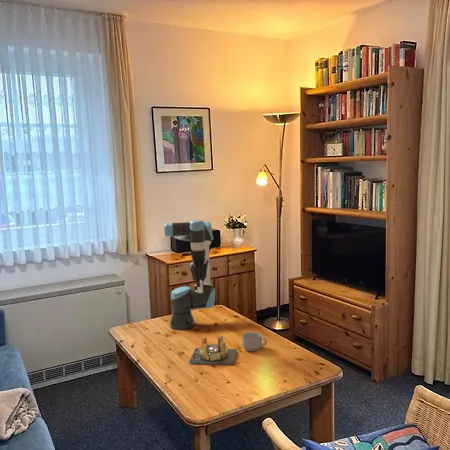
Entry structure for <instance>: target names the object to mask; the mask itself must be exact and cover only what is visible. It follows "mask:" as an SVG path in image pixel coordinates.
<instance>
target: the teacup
mask: <svg viewBox="0 0 450 450" xmlns="http://www.w3.org/2000/svg"><path fill="white" fill-rule="evenodd" d="M263 341H264V342H263ZM241 343H242V348H243V349H245V350H246V351H248V352H257V351H259V350H260V349H261V348H262V347H264V346H265V345H267V344H268V339H267V338H266V337H265V336H263V334H262V333H261V332H257V331H248V332H244V333H242V334H241Z"/></svg>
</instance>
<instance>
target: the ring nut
mask: <svg viewBox="0 0 450 450" xmlns="http://www.w3.org/2000/svg"><path fill="white" fill-rule="evenodd" d="M223 337H224V336H223V335H218V336H217V343H211V344H209V343H208V342H207V340H208V339H207V337H205V336H203V337H201V339H200V341H201V347H198V348H199V355H200V358H201V359H205V360H208V361H209V360H210V361H213V360H220V359H223V358H225V357H227V356H228V349H229V348H228V346H226V342H224V338H223ZM210 346H218V351H220V353H215V354H209V347H210Z"/></svg>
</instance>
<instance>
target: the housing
mask: <svg viewBox="0 0 450 450" xmlns="http://www.w3.org/2000/svg"><path fill="white" fill-rule="evenodd" d="M199 348H200V347H195V349H194V351H193V353H192V355H191V357H190V359H189V362H188V363H189V365H209V366H210V365H213V366H215V365H216V366H219V365H220V366H234V363H235V360H236V357H237V353H238V348H228V356H227V357H225V358H223V359H220V360H213V361H210V360H209V361H208V360H205V359H201V358H200V355H199ZM215 353H220V351H218V346H210V347H209V354H215Z"/></svg>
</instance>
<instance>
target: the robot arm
mask: <svg viewBox="0 0 450 450" xmlns="http://www.w3.org/2000/svg"><path fill="white" fill-rule="evenodd" d="M163 228H164V229H163V231H164V232H163V233H164V236H165V237H168V238H171V237H174V238H175V240H176V239H177V240H179V241H185V242H190V256H191V258H192V259H191V263H188V267H189V268H190V272H191V278H192V280H193V281H195V284H194V286H193V288H192V289H191V287H190V286H180V287H177V288H174V289H173V290H172V291H171V293H170V294H171V295H170V301H171V318H170V320H169V321H170V322H169V327H170V329H172V330H176V331H177V330H178V331H181V330H182V331H183V330H189V329H192V328H194V327H195V326H196V322H195V319H194V316H193V313H192V310H194V309H211V308H213V307H214V306H215V302H216V301H215V300H216V299H215V298H216V288H214V286H213V284H212V283H211V272H210V271H211V268H210V266H211V265H210V264H211V263H210V245H211V244H212V241H213V240H214V235H213V228H212V223H211V222H210V221H204V220H202V219H201V220H200V219H195V220H191V221H186V222H167V223H164V227H163Z"/></svg>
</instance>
